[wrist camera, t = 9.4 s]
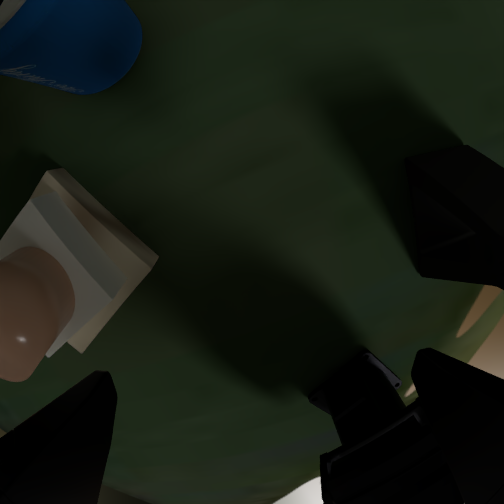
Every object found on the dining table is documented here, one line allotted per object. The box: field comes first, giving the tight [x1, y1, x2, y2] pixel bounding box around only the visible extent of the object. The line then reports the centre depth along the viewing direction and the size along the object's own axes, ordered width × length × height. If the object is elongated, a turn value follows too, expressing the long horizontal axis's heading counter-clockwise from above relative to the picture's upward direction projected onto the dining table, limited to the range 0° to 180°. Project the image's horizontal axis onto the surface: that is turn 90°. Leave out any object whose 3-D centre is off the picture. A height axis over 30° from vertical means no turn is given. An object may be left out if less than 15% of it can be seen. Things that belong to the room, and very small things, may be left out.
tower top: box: [0, 191, 128, 358], centre depth 16 cm, size 7×7×3 cm
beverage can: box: [0, 0, 142, 95], centre depth 10 cm, size 6×6×12 cm
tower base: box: [29, 168, 159, 354], centre depth 19 cm, size 9×9×3 cm
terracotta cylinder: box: [0, 246, 75, 382], centre depth 13 cm, size 5×5×5 cm
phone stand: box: [405, 145, 504, 290], centre depth 15 cm, size 9×6×12 cm, turn 16°
